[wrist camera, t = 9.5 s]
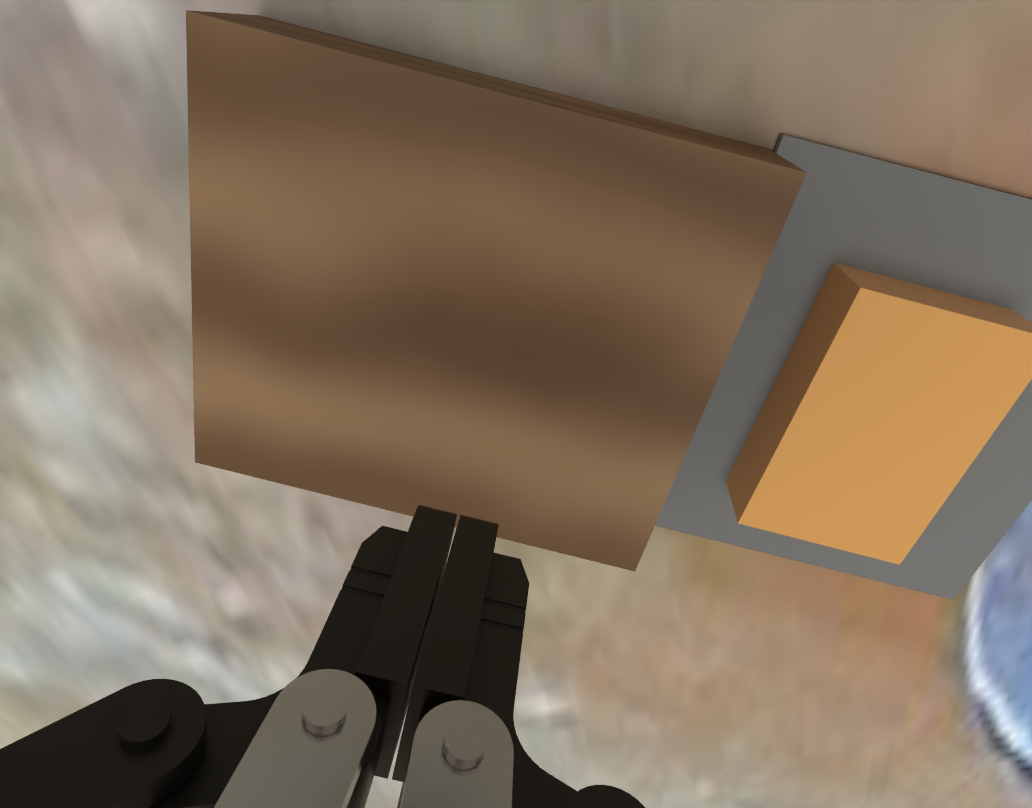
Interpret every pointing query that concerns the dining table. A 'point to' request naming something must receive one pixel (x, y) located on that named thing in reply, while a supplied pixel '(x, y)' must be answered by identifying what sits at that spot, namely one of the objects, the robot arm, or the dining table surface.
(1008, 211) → the mat
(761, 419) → the orange rectangular block
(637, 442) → the wooden block
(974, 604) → the dining table surface
